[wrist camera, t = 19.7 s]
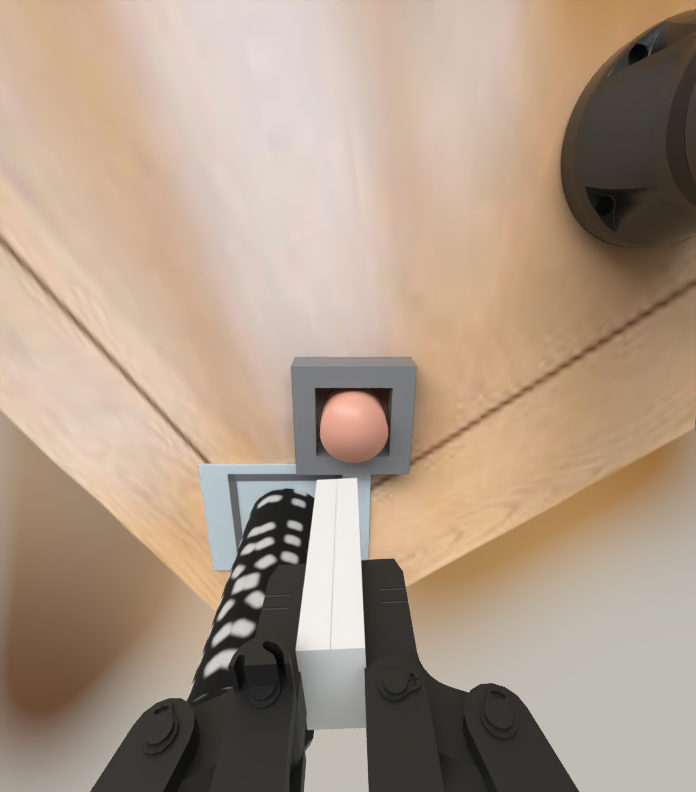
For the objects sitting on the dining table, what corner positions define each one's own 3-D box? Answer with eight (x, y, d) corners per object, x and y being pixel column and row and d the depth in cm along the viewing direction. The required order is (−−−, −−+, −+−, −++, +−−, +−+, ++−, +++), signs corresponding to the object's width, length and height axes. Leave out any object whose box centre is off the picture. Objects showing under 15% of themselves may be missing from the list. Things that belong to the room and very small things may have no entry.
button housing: (410, 357, 37) (416, 366, 34) (404, 458, 41) (408, 474, 38) (294, 357, 37) (291, 366, 34) (299, 459, 41) (296, 474, 38)
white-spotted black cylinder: (310, 558, 45) (288, 780, 26) (240, 536, 44) (165, 754, 25) (337, 502, 42) (334, 705, 23) (263, 478, 41) (198, 672, 22)
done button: (384, 384, 37) (389, 401, 33) (381, 439, 39) (386, 462, 35) (321, 384, 37) (319, 401, 33) (322, 440, 39) (320, 463, 35)
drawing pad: (370, 463, 41) (371, 465, 40) (367, 566, 46) (367, 569, 45) (198, 463, 41) (197, 466, 40) (214, 567, 46) (213, 571, 45)
